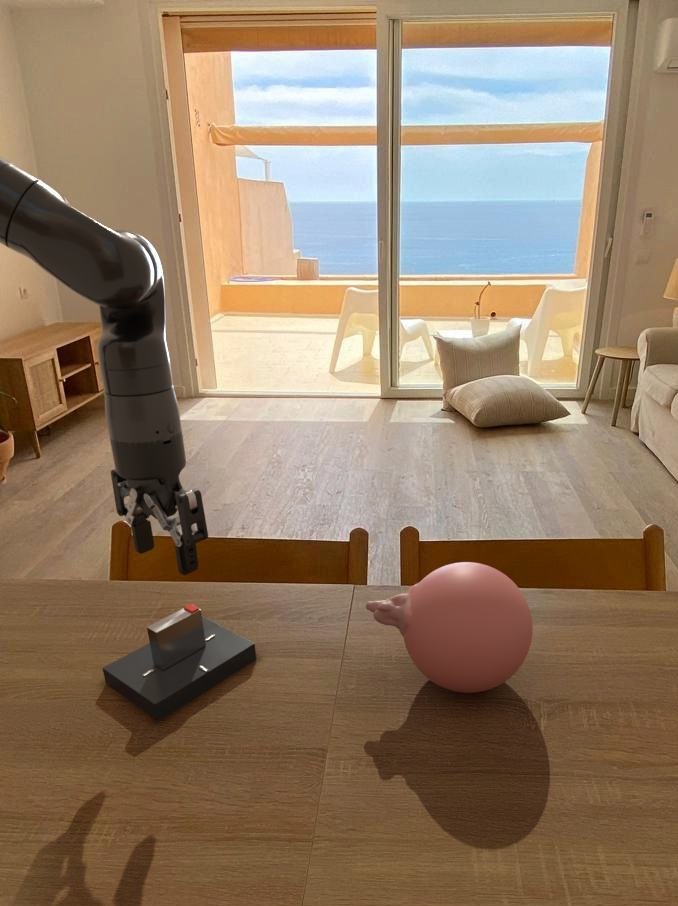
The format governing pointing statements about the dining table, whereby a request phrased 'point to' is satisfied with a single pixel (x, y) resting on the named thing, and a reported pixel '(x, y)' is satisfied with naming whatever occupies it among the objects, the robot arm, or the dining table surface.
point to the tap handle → (176, 636)
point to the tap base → (179, 672)
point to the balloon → (462, 626)
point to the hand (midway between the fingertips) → (166, 561)
